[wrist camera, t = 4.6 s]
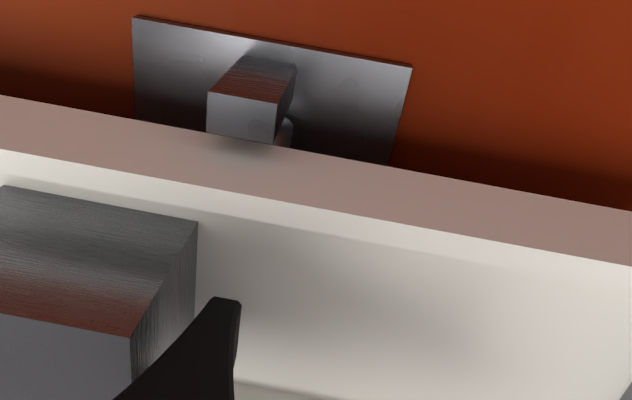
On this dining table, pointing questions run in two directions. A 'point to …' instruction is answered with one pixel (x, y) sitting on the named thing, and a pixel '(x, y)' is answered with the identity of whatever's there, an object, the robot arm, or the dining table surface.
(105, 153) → the beam
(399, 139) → the dining table surface
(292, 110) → the stand
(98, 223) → the grey block
